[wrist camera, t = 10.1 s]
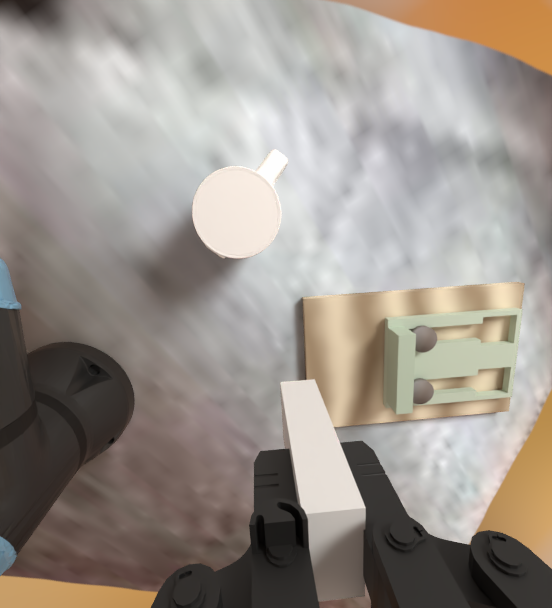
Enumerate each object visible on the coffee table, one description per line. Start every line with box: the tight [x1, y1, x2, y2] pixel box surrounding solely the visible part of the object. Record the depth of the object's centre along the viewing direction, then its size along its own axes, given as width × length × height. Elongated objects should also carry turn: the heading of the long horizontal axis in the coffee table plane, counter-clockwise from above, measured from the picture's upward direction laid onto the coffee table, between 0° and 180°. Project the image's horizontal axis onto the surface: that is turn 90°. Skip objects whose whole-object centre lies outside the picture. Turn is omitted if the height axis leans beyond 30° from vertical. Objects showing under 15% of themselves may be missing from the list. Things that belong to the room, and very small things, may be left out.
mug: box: [192, 149, 288, 259], centre depth 33 cm, size 12×9×8 cm
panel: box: [383, 308, 522, 414], centre depth 40 cm, size 17×12×4 cm
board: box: [302, 282, 525, 427], centre depth 41 cm, size 28×18×4 cm, turn 94°
